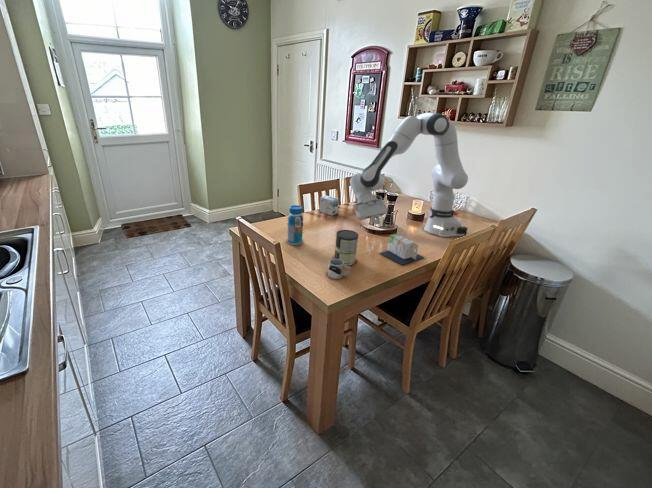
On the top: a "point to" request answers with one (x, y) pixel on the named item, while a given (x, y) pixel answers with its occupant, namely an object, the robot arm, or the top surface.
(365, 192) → the robot arm
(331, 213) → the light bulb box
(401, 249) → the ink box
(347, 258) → the coffee can
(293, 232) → the beverage bottle
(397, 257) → the mat
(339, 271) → the mug
